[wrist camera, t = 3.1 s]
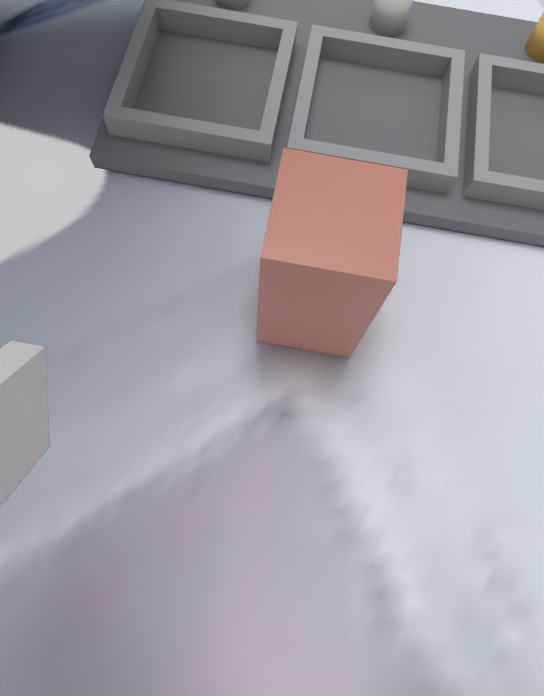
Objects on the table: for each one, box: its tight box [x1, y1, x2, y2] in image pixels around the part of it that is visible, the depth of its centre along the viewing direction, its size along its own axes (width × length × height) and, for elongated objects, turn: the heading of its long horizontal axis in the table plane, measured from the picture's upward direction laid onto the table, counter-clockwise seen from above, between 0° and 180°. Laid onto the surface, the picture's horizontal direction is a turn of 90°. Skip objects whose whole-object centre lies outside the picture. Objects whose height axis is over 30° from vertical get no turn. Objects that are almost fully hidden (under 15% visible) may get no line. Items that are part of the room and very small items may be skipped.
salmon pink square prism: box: [257, 148, 408, 358], centre depth 23 cm, size 5×5×9 cm
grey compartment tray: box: [90, 0, 544, 247], centre depth 31 cm, size 32×17×3 cm, turn 80°
